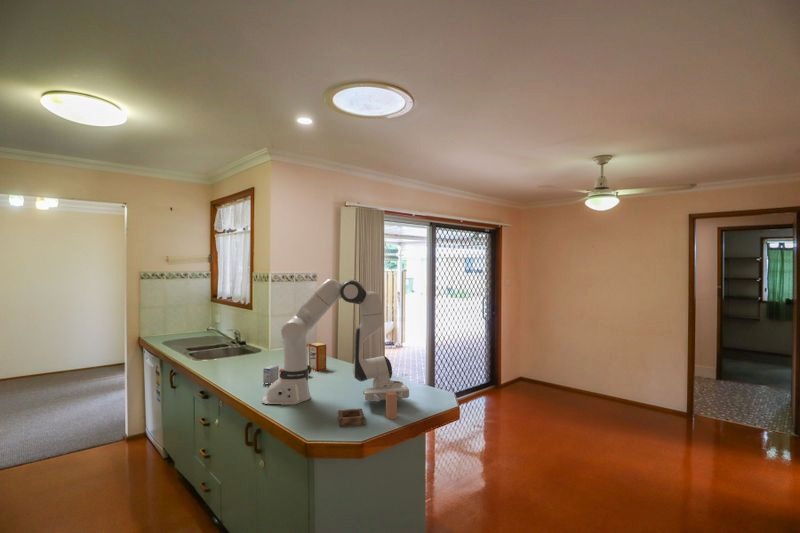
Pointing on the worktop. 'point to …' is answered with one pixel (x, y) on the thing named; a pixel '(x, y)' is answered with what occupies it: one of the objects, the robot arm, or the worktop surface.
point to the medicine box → (270, 374)
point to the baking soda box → (317, 356)
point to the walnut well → (351, 417)
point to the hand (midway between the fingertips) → (389, 398)
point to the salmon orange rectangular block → (391, 405)
